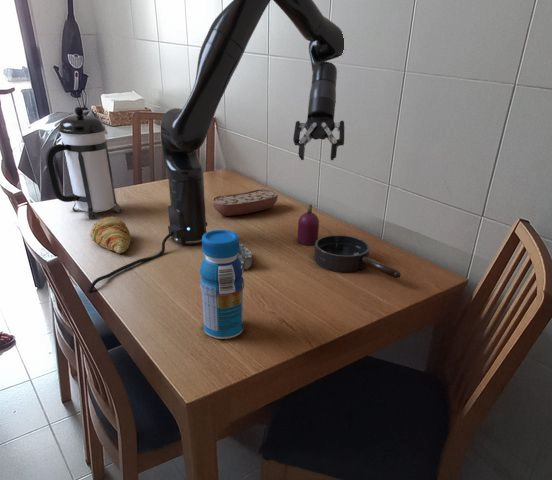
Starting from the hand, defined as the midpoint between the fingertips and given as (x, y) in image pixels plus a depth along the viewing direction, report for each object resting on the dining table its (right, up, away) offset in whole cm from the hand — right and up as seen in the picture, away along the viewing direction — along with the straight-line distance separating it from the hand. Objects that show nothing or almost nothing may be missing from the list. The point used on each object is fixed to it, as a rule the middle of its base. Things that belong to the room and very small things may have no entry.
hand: (317, 159), depth 135 cm
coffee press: (-69, -11, +16) cm, 72 cm away
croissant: (-57, -24, -3) cm, 62 cm away
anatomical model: (-21, -9, +22) cm, 32 cm away
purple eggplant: (-3, -23, +3) cm, 23 cm away
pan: (+6, -30, -8) cm, 32 cm away
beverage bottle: (-22, -50, -37) cm, 66 cm away
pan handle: (+14, -34, -17) cm, 41 cm away
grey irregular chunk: (-22, -31, -10) cm, 40 cm away
